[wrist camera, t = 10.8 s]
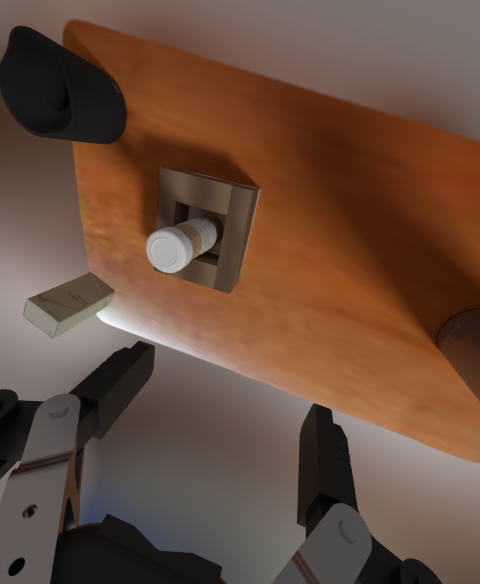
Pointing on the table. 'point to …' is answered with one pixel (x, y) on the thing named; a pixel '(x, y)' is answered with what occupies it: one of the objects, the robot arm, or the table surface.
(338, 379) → the table surface
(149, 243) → the sprinkles bottle
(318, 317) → the table surface
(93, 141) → the pen holder
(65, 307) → the skincare box
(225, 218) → the socket block
